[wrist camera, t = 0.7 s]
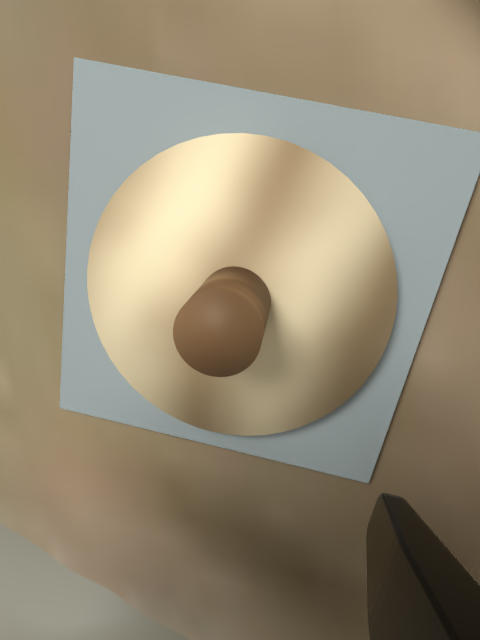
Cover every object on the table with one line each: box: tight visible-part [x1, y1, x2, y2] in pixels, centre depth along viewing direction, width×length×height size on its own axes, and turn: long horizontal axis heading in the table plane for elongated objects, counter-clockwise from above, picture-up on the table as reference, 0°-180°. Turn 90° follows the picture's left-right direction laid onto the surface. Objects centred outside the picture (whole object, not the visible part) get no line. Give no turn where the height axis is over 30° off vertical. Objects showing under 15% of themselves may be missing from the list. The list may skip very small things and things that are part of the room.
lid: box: [87, 133, 398, 436], centre depth 17 cm, size 13×13×5 cm
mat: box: [60, 57, 480, 484], centre depth 20 cm, size 16×16×1 cm
